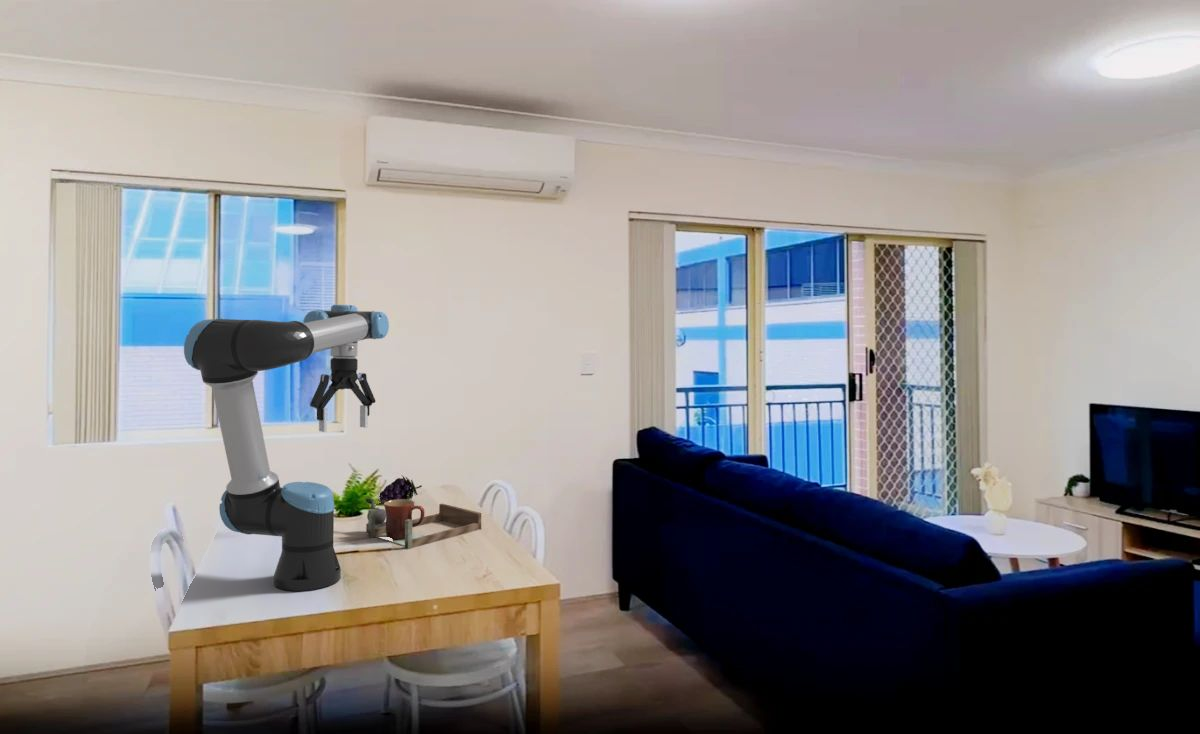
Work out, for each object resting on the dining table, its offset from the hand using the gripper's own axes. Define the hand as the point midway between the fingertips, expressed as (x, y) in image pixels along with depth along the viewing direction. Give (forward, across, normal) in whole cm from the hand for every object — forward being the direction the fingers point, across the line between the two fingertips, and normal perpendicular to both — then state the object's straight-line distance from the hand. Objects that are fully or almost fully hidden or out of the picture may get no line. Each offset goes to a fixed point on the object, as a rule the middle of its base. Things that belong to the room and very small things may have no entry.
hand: (343, 429), depth 215 cm
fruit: (+32, +37, +21) cm, 53 cm away
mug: (+32, +10, -16) cm, 37 cm away
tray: (+32, +18, -13) cm, 39 cm away
